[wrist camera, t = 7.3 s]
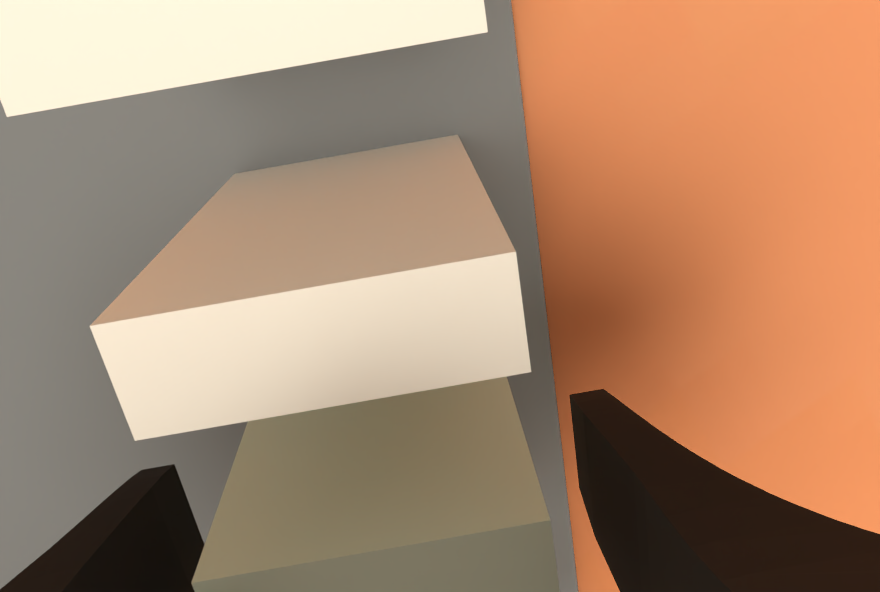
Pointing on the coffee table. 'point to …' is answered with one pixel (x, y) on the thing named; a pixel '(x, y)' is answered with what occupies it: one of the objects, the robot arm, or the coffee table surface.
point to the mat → (172, 206)
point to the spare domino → (385, 500)
